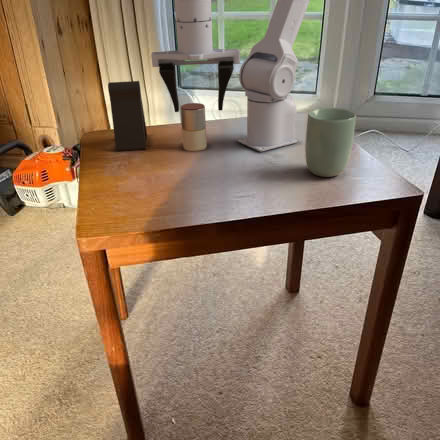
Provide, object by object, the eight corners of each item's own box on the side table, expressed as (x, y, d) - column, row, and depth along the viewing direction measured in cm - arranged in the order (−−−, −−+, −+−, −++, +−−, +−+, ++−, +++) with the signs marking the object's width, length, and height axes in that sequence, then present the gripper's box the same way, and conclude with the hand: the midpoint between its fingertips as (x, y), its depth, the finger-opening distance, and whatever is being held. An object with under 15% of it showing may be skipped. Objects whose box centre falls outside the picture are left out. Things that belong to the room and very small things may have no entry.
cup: (310, 183, 76) (316, 122, 70) (297, 166, 82) (301, 109, 76) (355, 179, 77) (364, 118, 71) (338, 163, 83) (345, 106, 77)
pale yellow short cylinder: (199, 141, 95) (198, 122, 93) (211, 147, 92) (210, 127, 89) (179, 146, 93) (177, 126, 91) (190, 152, 90) (189, 132, 87)
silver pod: (198, 122, 93) (197, 101, 90) (210, 127, 89) (209, 106, 87) (177, 126, 91) (175, 105, 88) (189, 132, 87) (187, 110, 85)
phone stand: (145, 149, 92) (137, 86, 85) (116, 151, 91) (105, 88, 84) (147, 136, 99) (140, 76, 92) (120, 137, 99) (110, 78, 92)
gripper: (145, 25, 68) (155, 117, 77) (241, 21, 69) (241, 114, 77) (150, 20, 74) (159, 106, 82) (238, 17, 74) (238, 103, 82)
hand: (198, 109), depth 80 cm, fingers open, 7 cm apart
